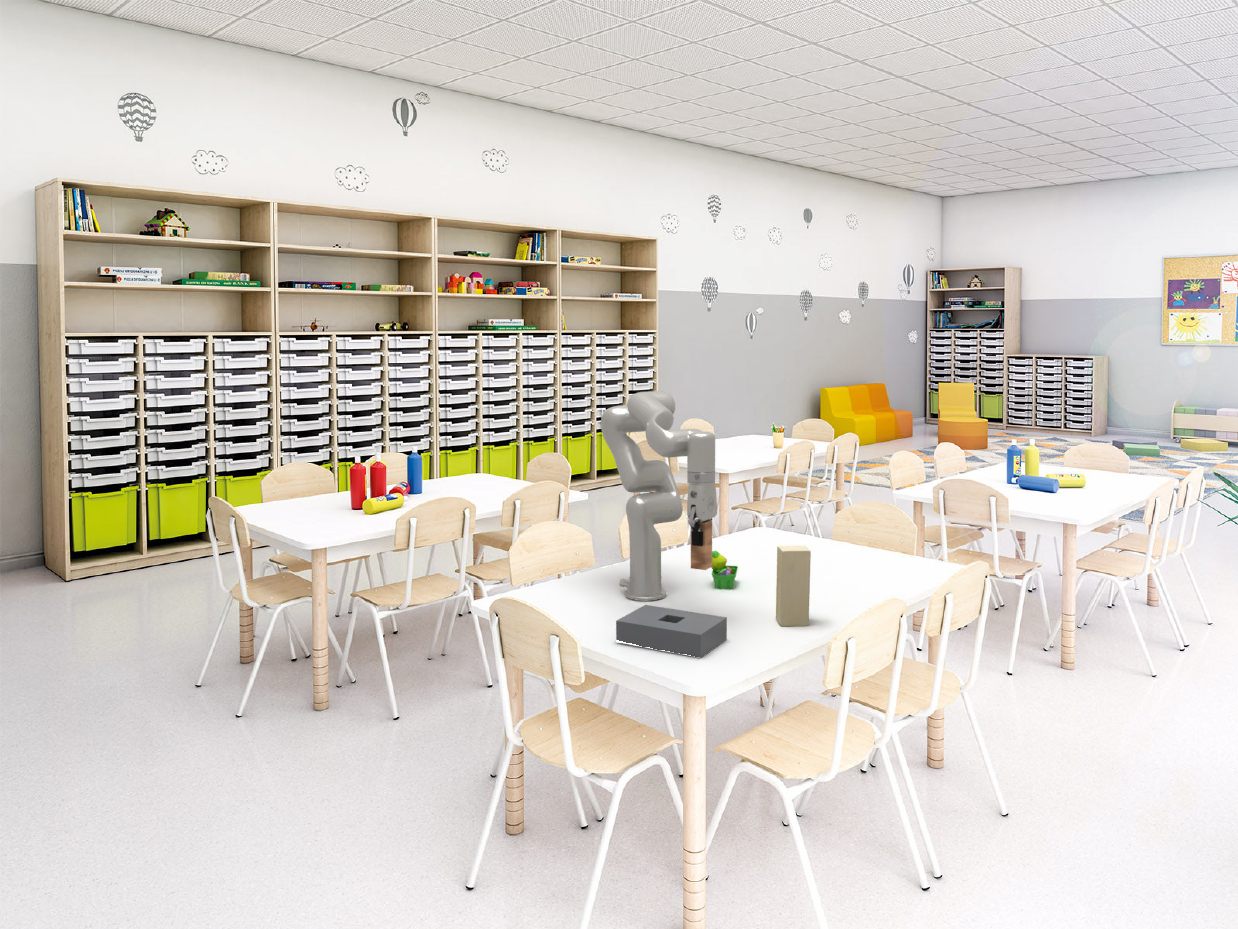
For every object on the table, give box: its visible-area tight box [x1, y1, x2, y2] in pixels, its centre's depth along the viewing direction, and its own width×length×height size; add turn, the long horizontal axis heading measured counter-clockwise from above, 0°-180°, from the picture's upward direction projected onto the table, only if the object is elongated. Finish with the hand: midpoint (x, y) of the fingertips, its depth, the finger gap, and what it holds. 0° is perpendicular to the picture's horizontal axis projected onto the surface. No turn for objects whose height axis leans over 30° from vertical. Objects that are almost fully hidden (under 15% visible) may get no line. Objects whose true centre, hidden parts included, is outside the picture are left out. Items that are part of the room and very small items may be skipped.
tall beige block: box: [775, 545, 812, 627], centre depth 252 cm, size 8×7×21 cm
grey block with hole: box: [615, 604, 728, 658], centre depth 238 cm, size 24×16×6 cm, turn 60°
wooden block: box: [690, 518, 713, 571], centre depth 251 cm, size 4×4×13 cm
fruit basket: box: [711, 550, 739, 590], centre depth 291 cm, size 11×9×11 cm
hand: (701, 543), depth 251 cm, fingers closed on wooden block, 4 cm apart
